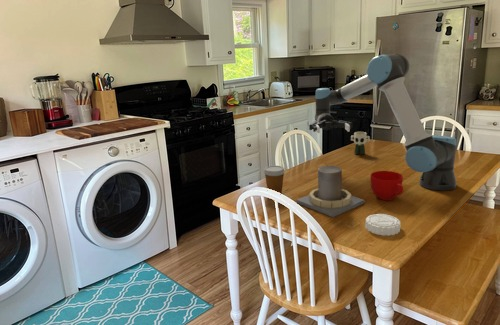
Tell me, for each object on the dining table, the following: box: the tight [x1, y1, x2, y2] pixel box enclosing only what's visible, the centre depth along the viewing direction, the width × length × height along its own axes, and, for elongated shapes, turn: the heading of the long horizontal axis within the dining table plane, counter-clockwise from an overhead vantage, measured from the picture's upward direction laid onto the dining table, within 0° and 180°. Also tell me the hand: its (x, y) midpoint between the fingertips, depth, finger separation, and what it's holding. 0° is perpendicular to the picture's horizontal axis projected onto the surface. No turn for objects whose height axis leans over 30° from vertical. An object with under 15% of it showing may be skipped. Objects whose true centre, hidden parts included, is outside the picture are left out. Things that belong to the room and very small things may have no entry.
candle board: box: [295, 187, 365, 218], centre depth 161 cm, size 20×20×4 cm
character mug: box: [350, 131, 371, 155], centre depth 230 cm, size 11×7×13 cm, turn 66°
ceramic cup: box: [370, 170, 404, 201], centre depth 161 cm, size 13×17×10 cm
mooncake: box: [364, 213, 402, 237], centre depth 137 cm, size 12×12×4 cm
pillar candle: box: [317, 165, 343, 201], centre depth 159 cm, size 10×10×15 cm
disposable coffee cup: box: [263, 165, 286, 193], centre depth 174 cm, size 10×10×12 cm
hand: (333, 129), depth 173 cm, fingers open, 13 cm apart
